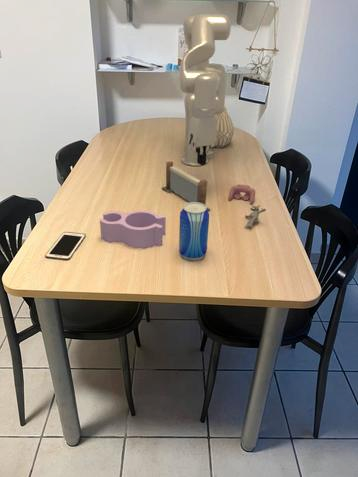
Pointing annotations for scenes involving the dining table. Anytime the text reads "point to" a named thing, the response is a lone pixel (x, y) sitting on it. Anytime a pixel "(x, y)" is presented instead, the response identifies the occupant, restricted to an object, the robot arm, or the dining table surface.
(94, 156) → the dining table surface
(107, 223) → the clip
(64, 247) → the cell phone
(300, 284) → the dining table surface
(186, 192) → the bar
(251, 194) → the video game controller
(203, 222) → the beer can
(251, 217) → the grey animal figurine
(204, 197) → the wooden pegs
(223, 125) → the vase
